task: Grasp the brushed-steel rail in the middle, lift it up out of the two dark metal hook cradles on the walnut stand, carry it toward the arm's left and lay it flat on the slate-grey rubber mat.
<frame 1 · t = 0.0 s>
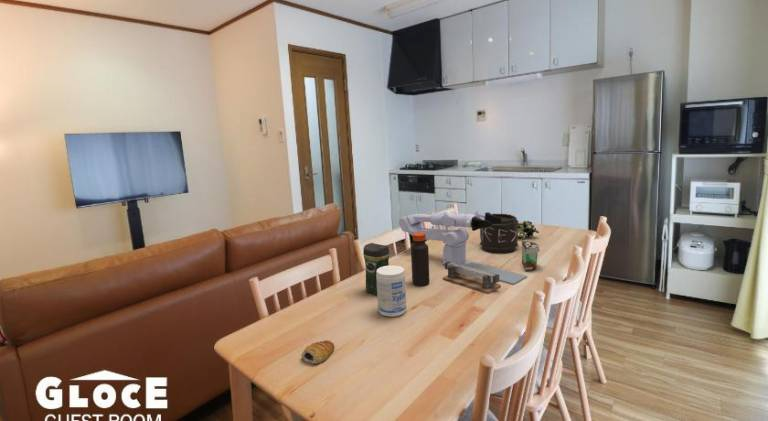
hand: (495, 222, 153), 22 cm above the table, tool horizontal, fingers open, 7 cm apart
pastry: (318, 357, 108), on the table
passion flower: (524, 238, 204), on the table
coffee jar: (378, 291, 148), on the table
vinegar: (420, 283, 153), on the table
steel rail: (470, 274, 149), point 3 cm above the table, touching hook stand
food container: (531, 267, 163), on the table
wooden barrel: (498, 249, 190), on the table
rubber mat: (491, 273, 159), on the table
supplement tub: (392, 311, 131), on the table
hook stand: (470, 283, 150), on the table
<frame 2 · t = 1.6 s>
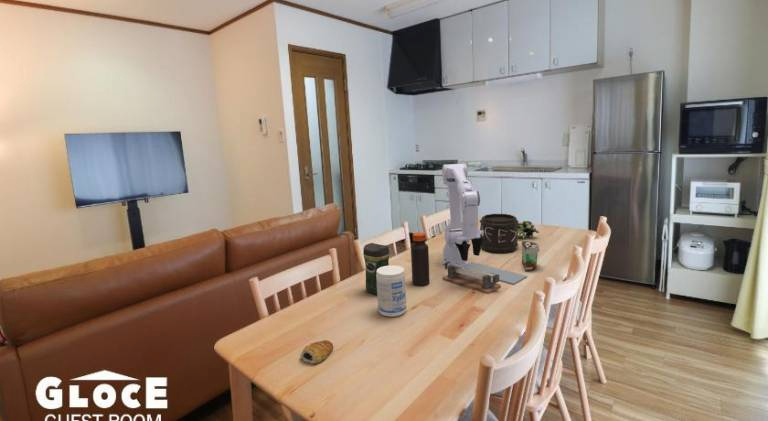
hand: (470, 257, 148), 10 cm above the table, tool pointing down, fingers open, 7 cm apart
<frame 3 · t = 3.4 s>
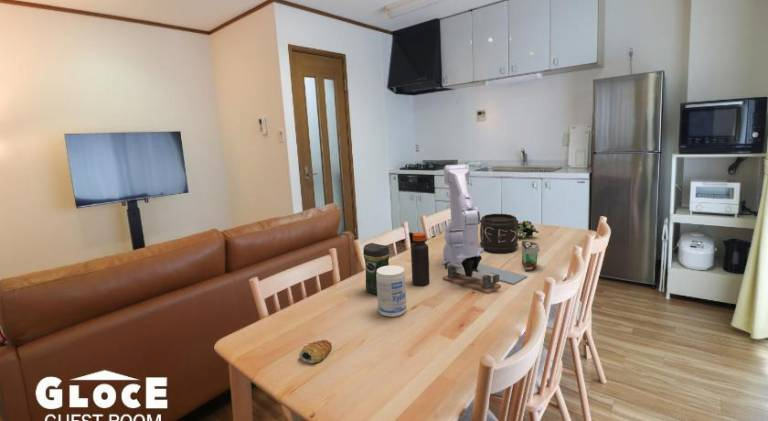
hand: (470, 275, 149), 3 cm above the table, tool pointing down, fingers closed on steel rail, 2 cm apart
steel rail: (470, 274, 149), point 3 cm above the table, touching gripper, hook stand
when the fingers open (2 cm above the table, at t = 8.0 s): steel rail stays where it is, resting on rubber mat.
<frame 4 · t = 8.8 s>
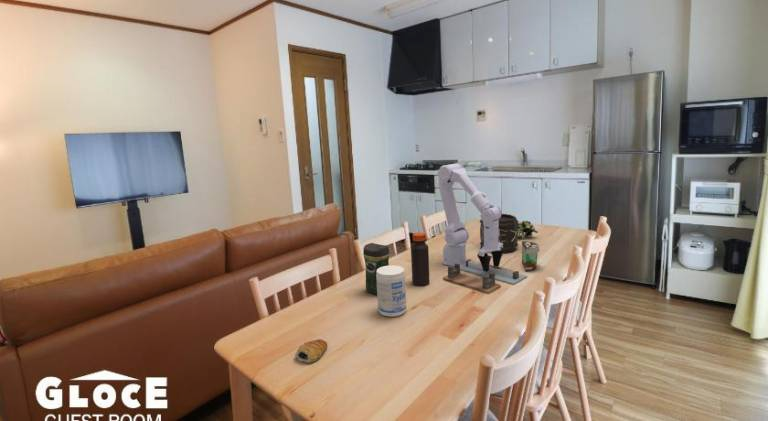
hand: (491, 268, 159), 2 cm above the table, tool pointing down, fingers open, 7 cm apart
pastry: (311, 356, 108), on the table
steel rail: (491, 271, 159), point 1 cm above the table, touching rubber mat
everything else where it was.
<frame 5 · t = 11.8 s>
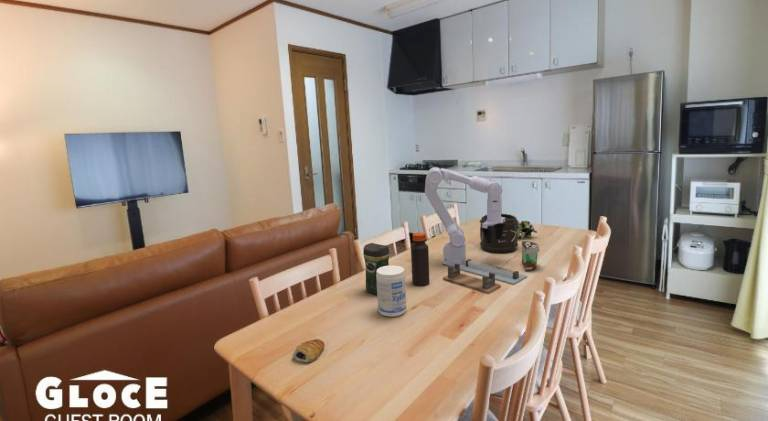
hand: (493, 241, 167), 10 cm above the table, tool pointing down, fingers open, 7 cm apart
at the end: steel rail inside the target area (0.0 cm from its centre), point 0.6 cm above the table; steel rail touching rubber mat; the gripper is holding nothing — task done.
